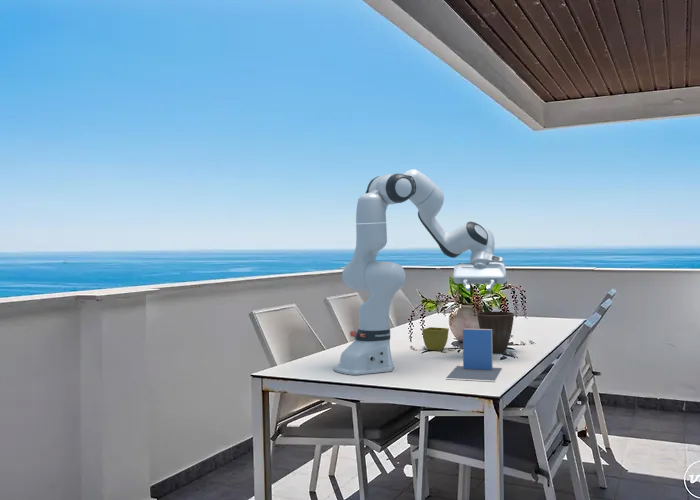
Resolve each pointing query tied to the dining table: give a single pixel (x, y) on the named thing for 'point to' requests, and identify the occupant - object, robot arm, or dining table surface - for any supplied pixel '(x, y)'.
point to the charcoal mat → (474, 374)
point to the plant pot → (497, 328)
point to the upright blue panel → (477, 349)
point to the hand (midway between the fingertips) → (478, 290)
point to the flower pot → (435, 338)
